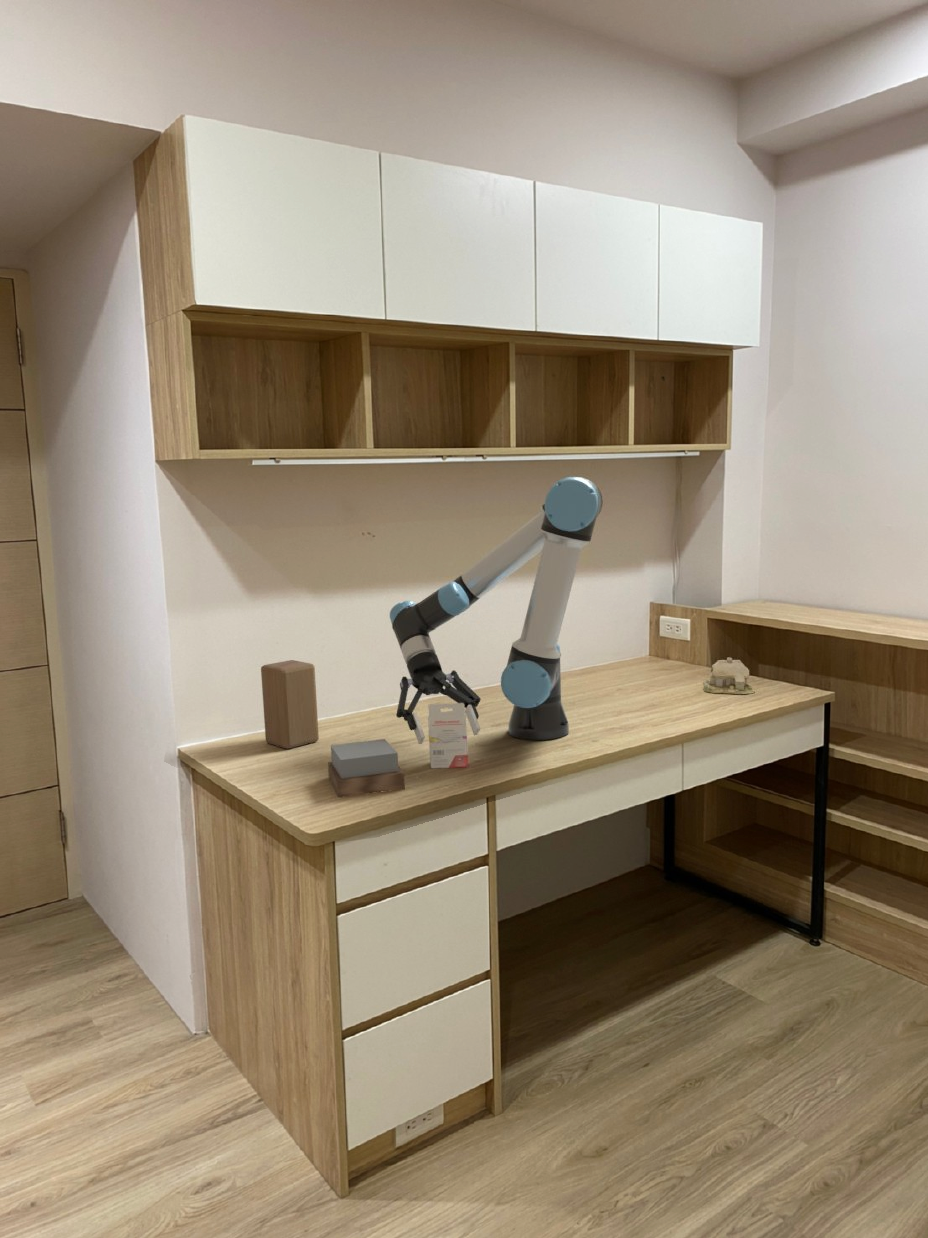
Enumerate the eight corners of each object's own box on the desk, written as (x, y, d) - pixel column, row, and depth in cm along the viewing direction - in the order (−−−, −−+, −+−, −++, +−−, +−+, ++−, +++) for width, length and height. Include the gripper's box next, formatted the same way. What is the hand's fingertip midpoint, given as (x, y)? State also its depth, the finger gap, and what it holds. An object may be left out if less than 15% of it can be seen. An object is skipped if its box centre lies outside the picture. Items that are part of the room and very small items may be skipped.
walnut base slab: (391, 772, 209) (390, 754, 208) (404, 791, 195) (404, 772, 195) (329, 779, 205) (328, 762, 204) (338, 799, 192) (337, 781, 191)
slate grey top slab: (385, 756, 207) (384, 739, 206) (398, 771, 196) (397, 752, 195) (331, 763, 203) (330, 745, 203) (341, 778, 192) (340, 759, 191)
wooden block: (264, 743, 234) (259, 665, 231) (297, 735, 241) (292, 658, 238) (286, 750, 227) (281, 669, 224) (320, 741, 234) (316, 663, 231)
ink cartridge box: (468, 761, 213) (465, 698, 211) (468, 767, 208) (466, 703, 206) (430, 762, 213) (427, 699, 211) (429, 768, 208) (427, 704, 206)
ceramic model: (749, 686, 278) (750, 653, 277) (757, 695, 267) (757, 661, 266) (701, 687, 280) (701, 654, 278) (706, 695, 269) (706, 661, 267)
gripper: (464, 663, 228) (494, 737, 216) (367, 675, 217) (394, 753, 206) (473, 644, 222) (504, 719, 211) (374, 656, 212) (401, 735, 200)
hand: (450, 736), depth 208 cm, fingers open, 13 cm apart
